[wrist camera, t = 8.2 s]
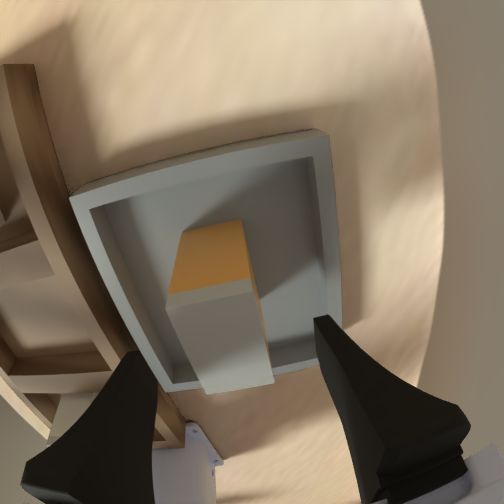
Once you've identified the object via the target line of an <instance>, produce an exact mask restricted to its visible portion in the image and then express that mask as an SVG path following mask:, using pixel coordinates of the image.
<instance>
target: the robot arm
mask: <svg viewBox="0 0 504 504" xmlns="http://www.w3.org/2000/svg"><path fill="white" fill-rule="evenodd" d="M313 323H314V334H315V345H316V354H317V358H318V361H319V365H320V368H321V372H322V375H323V377H324V380H325V382H326V385H327V387H328V389H329V392H330V394H331V397H332V399H333V402H334V404H335V406H336V409H337V411H338V414H339V416H340V419H341V422H342V425H343V428H344V432H345V435H346V439H347V443H348V447H349V450H350V454H351V458H352V462H353V466H354V470H355V475H356V479H357V483H358V488H359V493H360V498H361V503H362V504H500V503H502V502H503V501H504V459H503V457H502V455H501V453H500V452H499V449H498V447H497V446H496V444H495V443H491V444H490V445H488V446H486V447H485V448H483V449H481V450H480V451H478V452H476V453H475V454H473V455H471V456H469V457H468V458H467V459H465V460H463V458H462V456H461V454H463V450H462V448H461V446H460V444H461V443H462V441H463V440H464V438H465V437H466V435H467V434H468V432H469V430H470V428H471V424H470V423H469V421H468V419H467V417H466V416H465V414H464V413H463V411H462V410H461V409H460V408H459V406H458V405H456V404H452V403H450V402H447V401H444V400H442V399H439V398H437V397H434V396H432V395H430V394H428V393H426V392H423V391H422V390H420V389H418V388H416V387H414V386H412V385H411V384H409V383H407V382H405V381H403V380H402V379H400V378H399V377H397V376H396V375H394V374H393V373H391V372H390V371H388V370H387V369H385V368H384V367H383V366H381V365H380V364H379V363H378V362H376V361H375V360H374V359H373V358H372V357H370V356H369V355H368V354H367V353H366V352H365V351H363V350H362V349H361V348H360V347H359V346H358V345H357V344H356V343H355V342H354V341H353V340H352V339H351V338H350V337H349V336H348V335H347V334H346V333H345V332H344V331H343V330H342V329H341V328H340V327H339V325H338V324H337V323H336V322H335V321H334V320H333V318H332V317H331V316H330V315H328V314H327V315H323V316H319V317H315V318H313ZM157 404H158V380H157V379H156V377H155V375H154V374H153V372H152V371H151V369H150V367H149V366H148V364H147V362H146V360H145V359H144V357H143V355H142V354H141V352H140V350H137V351H130V352H127V353H126V354H125V355H124V357H123V358H122V360H121V361H120V363H119V364H118V366H117V367H116V369H115V370H114V372H113V373H112V375H111V376H110V378H109V379H108V381H107V382H106V384H105V385H104V387H103V388H102V390H101V391H100V392H99V394H98V395H97V396H96V398H95V399H94V400H93V402H92V403H91V404H90V406H89V407H88V408H87V410H86V411H85V412H84V413H83V414H82V415H81V417H80V418H79V419H78V420H77V421H76V422H75V423H74V424H73V425H72V426H71V427H70V428H69V429H68V430H67V431H66V432H65V433H64V434H63V435H62V436H61V437H60V438H59V439H58V440H56V441H55V442H54V443H53V444H52V445H50V446H49V447H48V448H46V449H45V450H44V451H42V452H41V453H39V454H38V455H36V456H35V457H33V458H32V459H30V460H29V461H27V462H26V465H25V469H24V473H23V477H22V481H21V486H22V488H23V489H24V490H25V491H26V492H28V493H29V494H31V495H32V496H34V497H35V498H37V499H39V500H40V501H42V502H44V503H45V504H217V500H216V479H215V466H222V465H223V464H224V461H223V460H222V458H221V457H220V456H219V454H218V453H217V451H216V450H215V448H214V447H213V446H212V444H211V443H210V441H209V440H208V438H207V437H206V435H205V434H204V432H203V431H202V429H201V428H200V426H199V425H198V424H197V423H186V430H185V448H177V449H153V450H152V444H153V436H154V428H155V420H156V412H157ZM23 504H27V503H23Z"/></svg>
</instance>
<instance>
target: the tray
mask: <svg viewBox="0 0 504 504" xmlns="http://www.w3.org/2000/svg"><path fill="white" fill-rule="evenodd" d="M69 200H70V202H71V205H72V208H73V210H74V213H75V216H76V218H77V221H78V223H79V226H80V228H81V231H82V233H83V236H84V238H85V240H86V243H87V245H88V247H89V250H90V252H91V254H92V257H93V259H94V261H95V263H96V265H97V268H98V270H99V272H100V274H101V276H102V278H103V281H104V283H105V285H106V287H107V289H108V291H109V293H110V295H111V297H112V299H113V301H114V303H115V305H116V307H117V309H118V311H119V313H120V315H121V317H122V319H123V320H124V322H125V324H126V326H127V328H128V330H129V332H130V333H131V335H132V337H133V339H134V341H135V342H136V344H137V346H138V348H139V349H140V351H141V353H142V355H143V356H144V358H145V360H146V362H147V363H148V365H149V367H150V368H151V370H152V372H153V373H154V375H155V376H156V378H157V380H158V381H159V383H160V384H161V386H162V388H163V389H164V391H165V392H175V391H183V390H191V389H199V388H203V387H202V385H201V383H200V381H199V379H198V377H197V375H196V373H195V371H194V369H193V367H192V365H191V363H190V361H189V359H188V357H187V355H186V353H185V351H184V349H183V347H182V345H181V343H180V340H179V338H178V336H177V334H176V332H175V330H174V328H173V325H172V323H171V321H170V319H169V316H168V314H167V312H166V310H165V306H166V301H167V296H168V292H169V287H170V282H171V277H172V273H173V268H174V264H175V259H176V255H177V251H178V246H179V242H180V238H181V234H182V232H185V231H190V230H194V229H198V228H203V227H207V226H212V225H216V224H221V223H225V222H230V221H234V220H239V219H241V220H242V225H243V229H244V233H245V238H246V242H247V247H248V251H249V255H250V260H251V264H252V269H253V273H254V277H255V282H256V286H257V290H258V295H259V299H260V304H261V310H262V315H263V321H264V326H265V332H266V337H267V342H268V348H269V353H270V359H271V364H272V369H273V375H274V376H275V375H280V374H285V373H290V372H294V371H299V370H303V369H307V368H312V367H316V366H320V365H319V361H318V358H317V354H316V345H315V334H314V323H313V318H315V317H319V316H323V315H327V314H328V315H330V316H331V317H332V318H333V320H334V321H335V322H336V323H337V324H338V325H339V327H340V328H341V329H342V294H341V268H340V249H339V234H338V220H337V207H336V196H335V186H334V176H333V166H332V158H331V149H330V141H329V135H327V134H325V133H323V132H321V131H319V130H317V129H307V130H301V131H295V132H289V133H283V134H277V135H271V136H266V137H260V138H255V139H250V140H245V141H240V142H235V143H231V144H226V145H222V146H217V147H213V148H208V149H204V150H200V151H196V152H192V153H188V154H184V155H180V156H176V157H172V158H168V159H164V160H161V161H157V162H153V163H150V164H146V165H143V166H139V167H136V168H133V169H129V170H126V171H123V172H120V173H116V174H113V175H110V176H107V177H104V178H101V179H98V180H95V181H92V182H89V183H86V184H85V185H84V186H82V187H81V188H80V189H79V190H78V191H76V192H75V193H74V194H73V195H72V196H70V197H69Z"/></svg>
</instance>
